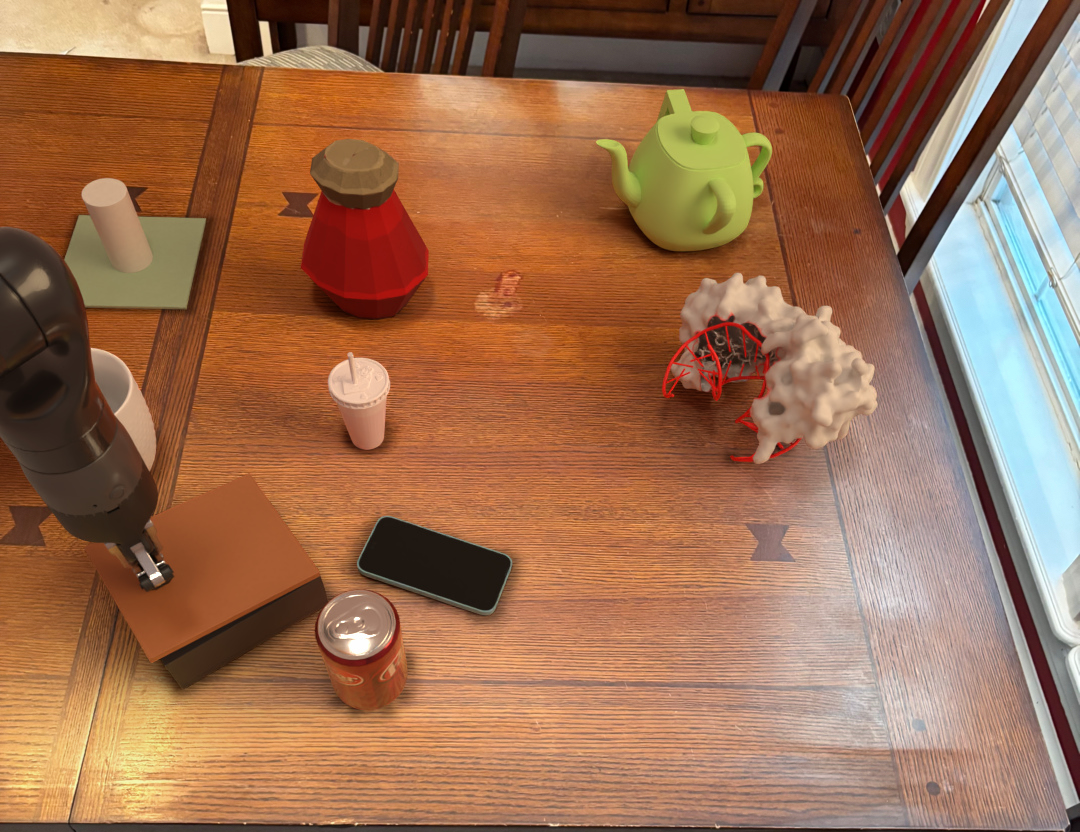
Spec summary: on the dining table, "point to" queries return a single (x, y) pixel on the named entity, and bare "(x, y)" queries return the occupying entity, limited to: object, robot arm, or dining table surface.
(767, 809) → the dining table surface
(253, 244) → the dining table surface
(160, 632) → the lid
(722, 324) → the protein dna model
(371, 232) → the bottle
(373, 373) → the smoothie
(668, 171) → the teapot
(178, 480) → the dining table surface
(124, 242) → the white cylinder
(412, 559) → the smartphone
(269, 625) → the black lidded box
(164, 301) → the mat
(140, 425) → the mug
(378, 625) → the soda can
